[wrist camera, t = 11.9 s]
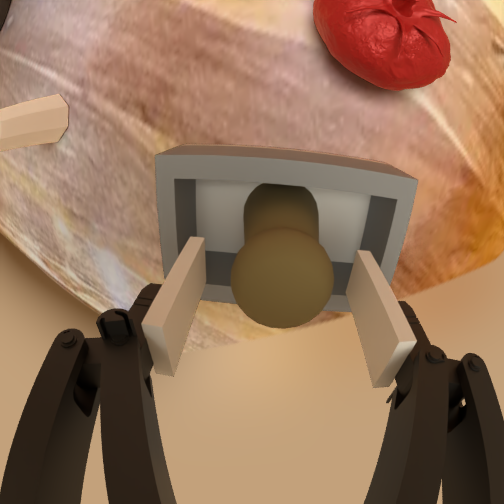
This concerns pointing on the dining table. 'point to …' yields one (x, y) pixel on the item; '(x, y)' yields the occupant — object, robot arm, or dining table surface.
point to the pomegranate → (386, 40)
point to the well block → (286, 173)
